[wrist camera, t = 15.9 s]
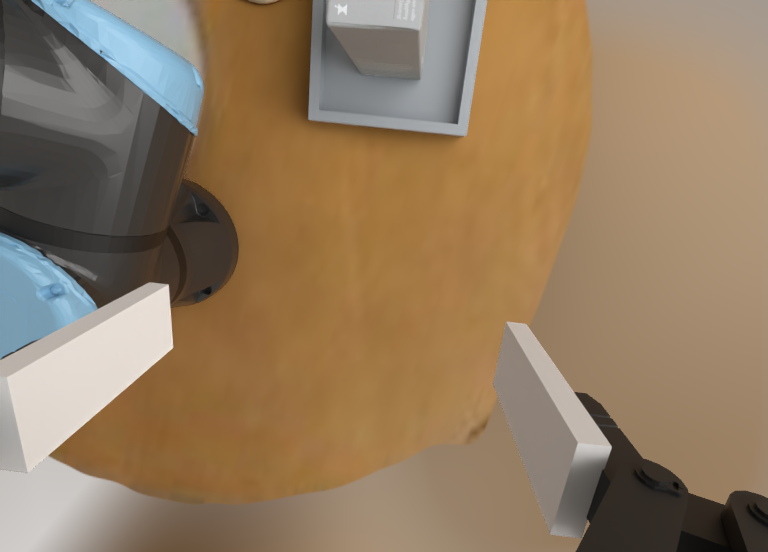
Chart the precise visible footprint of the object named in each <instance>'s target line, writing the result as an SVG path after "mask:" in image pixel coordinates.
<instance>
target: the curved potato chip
mask: <svg viewBox="0 0 768 552" xmlns="http://www.w3.org/2000/svg"><path fill="white" fill-rule="evenodd" d="M248 1H250V2H253V3H258V4H269V3H274V2H277V1H279V0H248Z"/></svg>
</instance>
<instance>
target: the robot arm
mask: <svg viewBox="0 0 768 552" xmlns="http://www.w3.org/2000/svg"><path fill="white" fill-rule="evenodd" d="M203 95H204V84H203V81H202V78H201V76H200V74H199V72H198V71H197V69H196V68H195V67H194V66H193V65H192V64H191V63H190V62H189V61H187V60H186V59H185V58H183V57H182V56H180V55H179V54H177V53H175V52H174V51H172V50H171V49H169V48H168V47H166V46H164V45H163V44H161V43H160V42H158V41H156V40H155V39H153V38H152V37H150V36H148V35H147V34H145V33H143V32H142V31H140V30H138V29H137V28H135V27H134V26H132V25H130V24H129V23H127V22H125V21H123V20H122V19H120V18H118V17H117V16H115V15H113V14H112V13H110V12H108V11H107V10H105V9H103V8H102V7H100V6H98V5H96V4H95V3H93V2H91V1H89V0H0V470H8V471H16V472H25V473H28V472H29V471H31V470H32V469H33V468H34V467H35V466H36V465H37V464H39V463H40V462H41V461H42V460H43V459H44V458H46V457H47V456H48V455H49V454H50V453H51V452H53V451H54V450H55V449H56V448H57V447H58V446H60V445H61V444H62V443H63V442H64V441H65V440H67V439H68V438H69V437H70V436H71V435H72V434H74V433H75V432H76V431H77V430H78V429H79V428H81V427H82V426H83V425H84V424H85V423H86V422H87V421H89V420H90V419H91V418H92V417H93V416H94V415H96V414H97V413H98V412H99V411H100V410H101V409H103V408H104V407H105V406H106V405H107V404H108V403H110V402H111V401H112V400H113V399H114V398H115V397H117V396H118V395H119V394H120V393H121V392H122V391H124V390H125V389H126V388H127V387H128V386H129V385H130V384H132V383H133V382H134V381H135V380H136V379H137V378H139V377H140V376H141V375H142V374H143V373H144V372H146V371H147V370H148V369H149V368H150V367H151V366H153V365H154V364H155V363H156V362H157V361H158V360H160V359H161V358H162V357H163V356H164V355H165V354H167V353H168V352H169V351H170V350H171V349H172V348H173V338H172V324H171V310H170V308H172V307H180V306H187V305H192V304H195V303H198V302H201V301H203V300H205V299H207V298H208V297H210V296H211V295H213V294H214V293H215V292H217V291H218V290H219V289H221V288H222V287H223V286H224V285H225V284H226V283H227V281H228V280H229V279H230V277H231V275H232V274H233V272H234V269H235V267H236V263H237V259H238V239H237V234H236V230H235V227H234V225H233V222H232V220H231V218H230V216H229V214H228V213H227V211H226V210H225V208H224V207H223V206H222V204H221V203H220V202H219V201H218V200H217V199H216V198H215V197H214V196H213V195H212V194H211V193H209V192H208V191H207V190H205V189H204V188H202V187H201V186H199V185H197V184H195V183H193V182H191V181H188V180H185V179H183V175H184V172H185V168H186V165H187V161H188V158H189V154H190V151H191V147H192V144H193V140H194V137H195V136H196V137H197V135H198V129H197V127H196V126H197V122H198V117H199V113H200V108H201V104H202V100H203ZM493 385H494V388H495V391H496V393H497V396H498V398H499V401H500V404H501V406H502V409H503V412H504V414H505V417H506V419H507V422H508V425H509V427H510V430H511V433H512V435H513V438H514V440H515V443H516V446H517V448H518V451H519V454H520V456H521V459H522V462H523V464H524V467H525V469H526V471H527V475H528V477H529V480H530V482H531V485H532V488H533V490H534V493H535V496H536V498H537V501H538V504H539V506H540V509H541V511H542V514H543V517H544V519H545V522H546V524H547V527H548V530H549V533H550V534H551V535H558V536H567V537H575V538H582V535H583V532H584V529H585V526H586V523H587V520H589V522H590V525H589V527H588V529H587V531H586V533H585V535H584V537H583V539H582V541H581V543H580V545H579V547H578V549H577V551H576V552H768V498H766V497H764V496H762V495H759V494H756V493H752V492H748V491H734V492H733V493H731V494H730V495H729V498H728V500H727V502H726V504H725V505H723V504H720V503H717V502H714V501H711V500H708V499H705V498H702V497H699V496H696V495H693V494H690V493H688V489H687V488H686V486H685V485H684V483H683V482H682V481H681V480H680V479H679V478H678V477H677V476H676V475H675V474H673V473H672V472H671V471H669V470H668V469H666V468H664V467H663V466H661V465H659V464H657V463H654V462H652V461H649V460H647V459H643V458H642V457H641V456H640V454H639V453H638V452H637V450H636V449H635V448H634V446H633V445H632V444H631V443H630V441H629V440H628V439H627V437H626V436H625V435H624V434H623V432H622V431H621V430H620V429H619V428H618V427H617V425H616V423H615V422H614V421H613V419H611V418H610V415H609V414H608V413H607V412H606V410H605V409H604V408H603V406H602V405H601V404H600V403H598V402H597V401H596V400H594V399H593V398H592V397H590V396H589V395H588V394H586V393H578V392H573V390H572V389H571V387H570V386H569V385H568V383H567V382H566V380H565V379H564V377H563V376H562V375H561V373H560V372H559V370H558V369H557V367H556V366H555V365H554V364H553V362H552V360H551V359H550V358H549V356H548V355H547V353H546V352H545V350H544V349H543V348H542V346H541V345H540V343H539V342H538V340H537V339H536V338H535V336H534V335H533V333H532V332H531V331H530V329H529V327H528V326H527V325H526V324H523V323H514V322H506V324H505V329H504V334H503V338H502V343H501V348H500V353H499V357H498V362H497V367H496V372H495V376H494V381H493Z"/></svg>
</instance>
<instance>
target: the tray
mask: <svg viewBox="0 0 768 552" xmlns="http://www.w3.org/2000/svg"><path fill="white" fill-rule="evenodd" d="M326 2H327V0H313V8H312V34H311V60H310V87H309V113H308V120H311V121H314V122H323V123H333V124H343V125H352V126H362V127H372V128H381V129H391V130H401V131H411V132H420V133H430V134H440V135H449V136H459V137H464V136H466V135H467V129H468V122H469V116H470V109H471V103H472V96H473V90H474V83H475V76H476V70H477V63H478V57H479V50H480V44H481V37H482V31H483V24H484V18H485V11H486V5H487V0H430V5H429V20H428V31H427V40H426V49H425V57H424V64H423V72H422V78H421V80H416V79H404V78H393V77H381V76H369V75H362V74H361V73H360V72H359V70H358V69H357V67H356V66H355V64H354V63H353V61H352V60H351V58H350V57H349V55H348V54H347V53H346V51H345V50H344V48H343V47H342V45H341V44H340V42H339V41H338V39H337V38H336V36H335V35H334V33H333V32H332V31H331V29H330V28H329V27H328V25H327V23H326Z"/></svg>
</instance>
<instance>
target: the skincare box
mask: <svg viewBox="0 0 768 552" xmlns="http://www.w3.org/2000/svg"><path fill="white" fill-rule="evenodd" d="M429 5H430V0H327V2H326V23H327V25H328V27H329V28H330V29H331V31H332V32H333V33H334V35H335V36H336V38H337V39H338V41H339V42H340V44H341V45H342V47H343V48H344V50H345V51H346V53H347V54H348V55H349V57H350V58H351V60H352V61H353V63H354V64H355V66H356V67H357V69H358V70H359V72H360V73H361V74H362V75H369V76H381V77H393V78H404V79H416V80H421V78H422V72H423V64H424V57H425V49H426V40H427V31H428V20H429Z"/></svg>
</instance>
